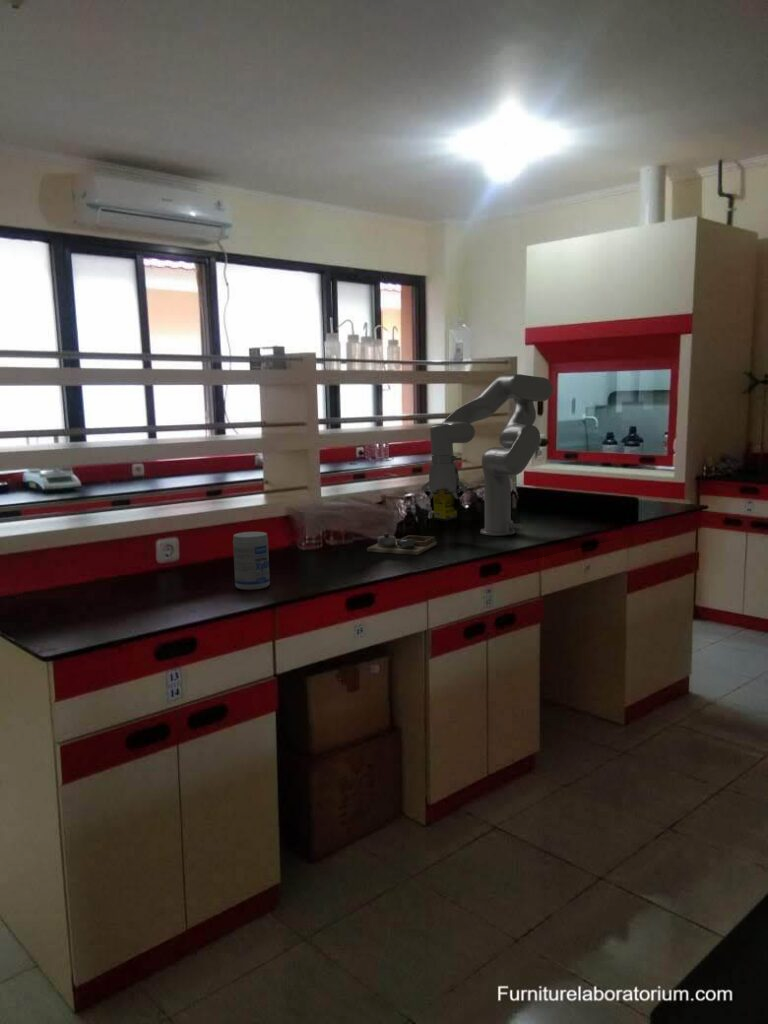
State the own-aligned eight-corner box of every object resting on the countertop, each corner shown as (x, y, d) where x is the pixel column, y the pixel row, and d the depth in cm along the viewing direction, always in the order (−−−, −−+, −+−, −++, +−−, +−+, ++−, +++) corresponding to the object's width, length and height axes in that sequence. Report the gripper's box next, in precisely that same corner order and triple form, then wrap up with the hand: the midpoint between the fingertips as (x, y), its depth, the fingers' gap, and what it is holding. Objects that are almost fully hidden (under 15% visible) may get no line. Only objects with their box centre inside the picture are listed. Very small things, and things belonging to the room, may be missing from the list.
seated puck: (416, 546, 260) (416, 539, 260) (411, 549, 256) (411, 542, 255) (402, 545, 262) (402, 538, 262) (397, 548, 258) (396, 541, 257)
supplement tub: (263, 591, 210) (261, 537, 208) (230, 590, 212) (227, 537, 209) (274, 582, 220) (272, 531, 217) (242, 582, 221) (239, 530, 219)
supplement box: (445, 521, 270) (444, 490, 268) (433, 519, 275) (432, 489, 273) (458, 518, 274) (456, 487, 272) (446, 516, 279) (444, 486, 277)
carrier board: (436, 544, 269) (436, 529, 268) (417, 554, 253) (417, 538, 252) (388, 541, 276) (388, 526, 275) (367, 551, 260) (366, 535, 259)
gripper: (469, 457, 270) (472, 507, 274) (423, 458, 278) (426, 507, 281) (463, 460, 264) (465, 511, 267) (415, 461, 271) (418, 511, 274)
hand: (445, 509), depth 274 cm, fingers closed on supplement box, 7 cm apart
